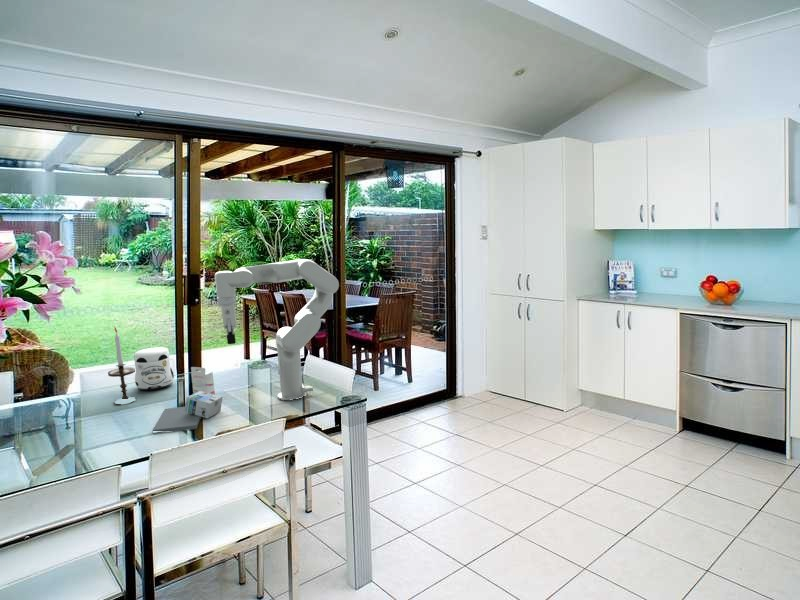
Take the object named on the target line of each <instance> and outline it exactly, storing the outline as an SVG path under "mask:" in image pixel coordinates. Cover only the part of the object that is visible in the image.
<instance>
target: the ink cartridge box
mask: <svg viewBox="0 0 800 600" xmlns="http://www.w3.org/2000/svg"><path fill="white" fill-rule="evenodd" d="M190 370H191V371H190V372H191V383H192V384H191V385H192V392H193V393H192V395H193V394H195V393H197V392H199V391H203V392H207V393H210V394H214V395H216V391H215V382H214V375H213V371H206V368H205V367H197V366H191V367H190Z"/></svg>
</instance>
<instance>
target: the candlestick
mask: <svg viewBox="0 0 800 600" xmlns="http://www.w3.org/2000/svg"><path fill="white" fill-rule="evenodd" d="M113 328H114V331H115V336H114V343H115V349H116V355H117V356H116V357H117V365H115V367H118V368H115V369H112V370H110V371H108V372H107V374H108V377H113V378H114V377H118V378H119V377H120V385H119V387H120V389H121V390H120V392H121V393H122V397H121V398H122V399H128V398H129V396H128V395H127V392H128V390H127V387H128V384H126V383H125V377H126V376H129V375H131V374H134V373H136V367H135V368H134V367H128V366H127V367H125V366H126V364H125V363H124V361H123V354H122V345H121V339H120V335H119V334H118V330H117V328H116V326H115V325H114V327H113Z"/></svg>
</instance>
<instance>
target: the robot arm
mask: <svg viewBox="0 0 800 600" xmlns="http://www.w3.org/2000/svg"><path fill="white" fill-rule="evenodd" d="M302 279H303V280H305V281H306V282H307V283H309V284H310V285H312V286H313V287H314V294H313V296H312V298H311V299H309V301H308V302H307V303H306V304H305V305H304V306H303V307H302V308H301V309H300V310H299V311H298V312H297V313H296V314H295V316H294V319H293V320H294V321H293V322H294V325H293V326H292V327H291V326H283V327H281V328H279V329H278V331H277V332H276V334H275V344H276V350H277V358H278V372H279V383H280V393H278V394H277V398H279V399H278V400H280V399H281V401H284V400H290V399H296V398H299V397H302V396H304V395H305V394H306V395H307V392H313V391H314V387H313V386H310V385H307V386H305V385H304V384H303V379H302V378H303V376H302V363H301V361H302V360H301V352H300V350H301V349H303V348H304V347H305V346H306V345H307V343H308V342H310V341H311V339H312V338H313V337H314V336H315V335H316V334H317V333H318V332H319V330H320V328H321V323H322V321H321V318H322V317H323V315H324V314H325V313H326V312H327V310H328V309H329V308H330V306H331V304H332V302H333V294H335V293H337V291H338V290H339V287H340V283H339V280H338V279H337V277H336V276H335V275H333V274H331V272H329V271H327V270H326V269H325V268H323V267H321V266H320V265H319V264H318V263H316V262H315V261H313V260H311V259H307V258H300V259H292V260H285V261H279V262H273V263H272V262H271V263H266V264H257V265H252V266H244V267H239V268H236V269H235V270H234V271H231V270H223V271H222V270H221V271H217V272H215V274H214V282H215V291H216V299H217V306H219V307H220V309H221V315H222V316H221V317H222V322H223V327H224V329H225V330H226V341H227V345H234V344H236V343H237V342H236V333H235V329H236V328H237V326H238V322H237V315H236V307H235V305H236V304H238V302H237V293H236V288H242V289H244V288H249V287H251V286H252V285H253V284H254V283H274V284H275V283H283V282H289V281H295V280H302ZM234 328H235V329H234Z"/></svg>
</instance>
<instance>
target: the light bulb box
mask: <svg viewBox="0 0 800 600" xmlns="http://www.w3.org/2000/svg"><path fill="white" fill-rule="evenodd" d="M223 397H224V396H222V395H217V394H215V395H214V394H210V393H207V392H203V391H199V392H197V393H195V394H193V393H192V394H191V395H188V396H186V399H185V404H184V407H185V410H184V412H187V413H190V414H194V415H198V416H201V418H205V419H209V418H210V417H212V416H214V415H215V414H217V413H219V412H221V408H222V403H223Z"/></svg>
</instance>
